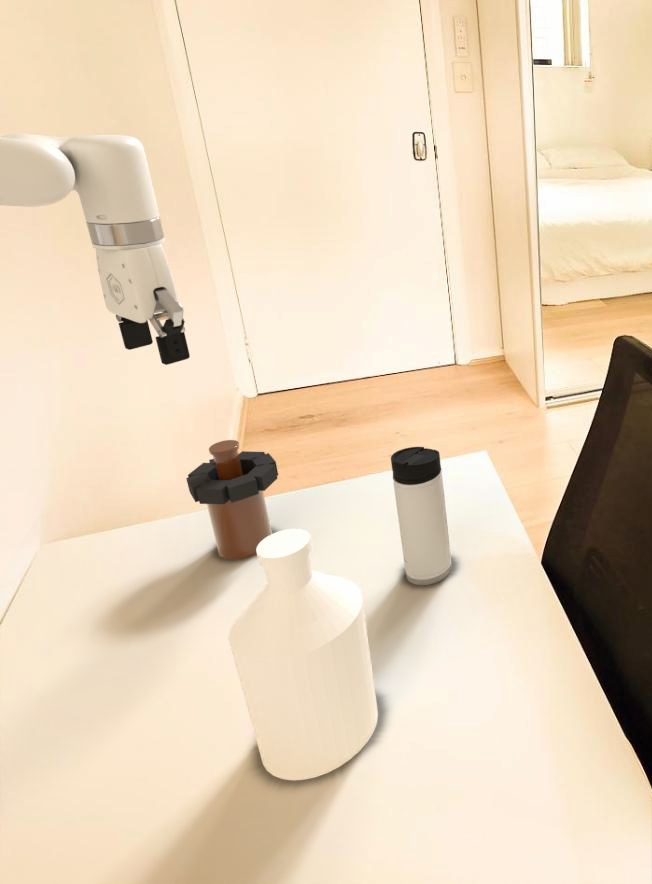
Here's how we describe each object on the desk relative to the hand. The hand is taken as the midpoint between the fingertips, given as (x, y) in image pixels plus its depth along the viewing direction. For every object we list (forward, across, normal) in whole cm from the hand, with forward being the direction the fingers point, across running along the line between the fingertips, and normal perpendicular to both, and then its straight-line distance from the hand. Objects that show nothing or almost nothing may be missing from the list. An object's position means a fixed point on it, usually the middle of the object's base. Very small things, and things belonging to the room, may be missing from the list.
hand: (157, 353), depth 96 cm
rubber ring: (+19, +8, +2) cm, 21 cm away
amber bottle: (+30, +8, +2) cm, 31 cm away
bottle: (+31, +47, -12) cm, 57 cm away
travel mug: (+31, +36, +12) cm, 49 cm away
